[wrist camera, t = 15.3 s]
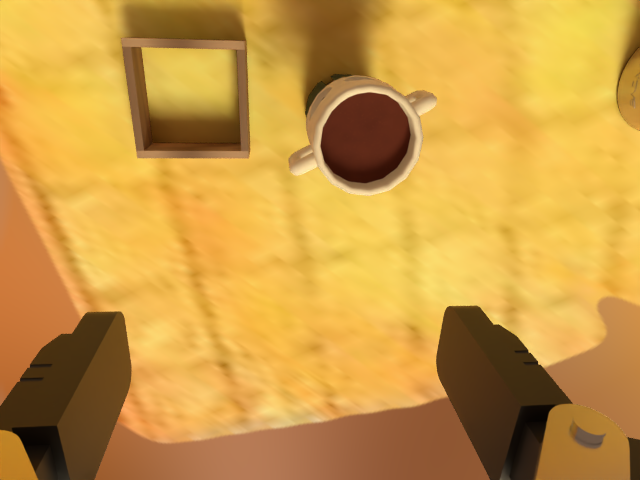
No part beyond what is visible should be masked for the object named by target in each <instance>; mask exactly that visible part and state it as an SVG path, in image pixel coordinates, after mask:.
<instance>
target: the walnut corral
mask: <svg viewBox="0 0 640 480" xmlns="http://www.w3.org/2000/svg"><path fill="white" fill-rule="evenodd" d="M121 41H122V48H123V56H124V63H125V70H126V78H127V85H128V92H129V100H130V107H131V114H132V122H133V129H134V137H135V144H136V151H137V158H249V154H250V131H249V102H248V74H247V46H246V41H240V40H203V39H166V38H121ZM141 47H155V48H195V49H234V50H237V66H238V89H239V112H240V135H241V143H153V142H152V134H151V125H150V117H149V109H148V100H147V92H146V84H145V76H144V67H143V59H142V51H141Z"/></svg>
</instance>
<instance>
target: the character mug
mask: <svg viewBox="0 0 640 480" xmlns="http://www.w3.org/2000/svg"><path fill="white" fill-rule="evenodd" d="M331 77H332V79H333V80H334V81H333V82H332V83H328V84H327V85H325V84H324V83H323V82H322V81H321V82H319V83H318V84H317V85H316V86H315V88H314V89H313V91H312V92H311V94H310V95H309V97H308V102H307V107H306V111H305V114H306V130H307V134H308V138H309V142H310V145H308V146H306V147H304V148H302V149H300V150H298V151H297V152H295V153H293V154H292V155H291V156H290V157H289V168H290V172H291V173H293V174H294V175H296V176H297V175H301V174H304V173H306V172H308V171H310V170H312V169H314V168H316V167H319V169H320V170H321V171H322V173H323V174H324V175H325V176H326V178H327V179H328V180H329V181H330V183H331V184H333V185H334V186H336V187H338V188H340V189H342V190H344V191H346V192H347V193H349V194H358V195H367V196H371V195H374V194H378V193H382V192H385V191H389V190H391V189H392V188H393V187H395V186H396V185H397V184H399V183H400V182H401V181H403V180H404V179H406V178H407V176H408V175H409V173H410V172H411V170H412V169H413V167H414V166H415V164H416V163H417V161H418V159H419V155H420V151H421V146H422V142H423V133H422V127H421V121H420V117H419V116H420V115H422V114H424V113H426V112H428V111H429V110H431V109H432V108H434V107H435V106H436V102H437V98H436V97H435V96H434V95H433V94H432V93H429V92H427V91H424V90H422V91H415V92H413V93H411V94H409V95H407V96H404V95H402V94H401V93H399V92H397V91H396V90H395V89H394V88H393V87H392V86H390V85H389V84H387V83H385V82H382V81H380V80H379V79H376V78H372V77H368V76H358V75H354V76H352V75H341V74H334V75H333V76H331Z"/></svg>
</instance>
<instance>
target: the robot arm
mask: <svg viewBox="0 0 640 480" xmlns="http://www.w3.org/2000/svg"><path fill="white" fill-rule="evenodd" d="M618 106H619V110H620V113H621V115H622V116H623V118H624V120H625V121H626V122H627V123H628V124H629V125H630V126H631V127H633V128H635V129H637V130H639V131H640V47H639V48H638V49H637V50H636V52H635V53H634V54H633V55H632V57H631V58H630V59H629V61H628V63H627V65H626V66H625V68H624V70H623V73H622V76H621V78H620V81H619V87H618ZM436 364H437V372H438V376H439V379H440V381H441V383H442V385H443V387H444V389H445V391H446V393H447V395H448V397H449V399H450V401H451V403H452V405H453V407H454V409H455V411H456V413H457V415H458V417H459V419H460V421H461V423H462V425H463V427H464V429H465V431H466V432H467V435H468V436H469V438H470V440H471V442H472V444H473V446H474V448H475V450H476V452H477V454H478V456H479V458H480V460H481V462H482V464H483V466H484V468H485V470H486V472H487V474H488V476H489V478H490V480H640V440H638V439H633V438H629V437H627V436H626V435H625V433H624V432H623V431H622V429H621V428H620V427H619V426H618V425H617V424H616V423H615V422H613V421H612V420H611V419H610V418H608V417H606V416H605V415H603V414H602V413H599V412H598V411H595V410H593V409H591V408H588V407H585V406H581V405H576V404H573V403H572V402H571V401H570V400H569V398H568V397H567V396H566V395H565V394H564V392H563V391H562V390H561V389H560V388H559V386H558V385H557V384H556V383H555V382H554V380H553V379H552V378H551V377H550V376H549V374H548V373H547V372H546V371H545V370H544V368H543V367H542V366H541V365H538V361H537V360H536V359H535V358H534V356H533V355H532V354H531V353H528V349H527V348H526V347H525V346H524V344H523V343H522V342H521V341H520V340H519V338H518V337H517V336H515V335H514V334H512V333H511V332H509V331H508V330H506V329H505V328H503V327H502V326H500V325H493V323H492V322H491V321H490V320H489V318H488V317H487V316H486V315H485V313H484V312H483V311H482V309H481V308H480V307H478V306H449V307H447V308H446V310H445V313H444V317H443V323H442V329H441V334H440V340H439V345H438V351H437V357H436ZM130 382H131V360H130V353H129V346H128V339H127V332H126V325H125V319H124V316H123V314H122V312H87V313H86V314H85V315H84V316H83V318H82V319H81V321H80V322H79V324H78V326H77V327H76V329H75V330H74V332H73V333H72V334H61V335H60V336H58V337H57V338H55V339H54V340H52V341H51V342H50V343H48V344H47V345H46V346H44V347H43V348H42V349H41V350H40V351H39V353H38V354H37V356H36V357H35V358H34V360H33V361H32V363H31V364H30V368H27V370H26V371H25V372H24V374H23V375H22V377H21V378H20V382H17V384H16V385H15V386H14V388H13V389H12V391H11V392H10V393H9V395H8V396H7V398H6V399H5V400H4V402H3V403H2V405H1V406H0V480H94V479H95V476H96V474H97V471H98V469H99V466H100V463H101V461H102V458H103V456H104V453H105V450H106V448H107V445H108V442H109V440H110V437H111V435H112V432H113V430H114V427H115V425H116V422H117V419H118V417H119V414H120V412H121V409H122V406H123V404H124V401H125V399H126V396H127V393H128V390H129V387H130Z"/></svg>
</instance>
